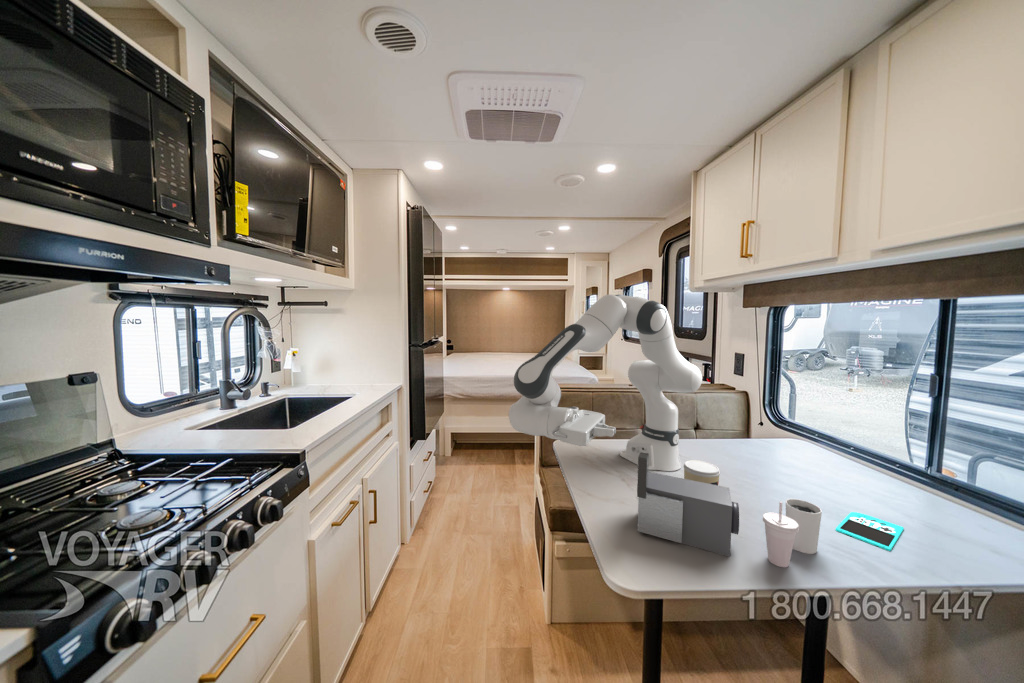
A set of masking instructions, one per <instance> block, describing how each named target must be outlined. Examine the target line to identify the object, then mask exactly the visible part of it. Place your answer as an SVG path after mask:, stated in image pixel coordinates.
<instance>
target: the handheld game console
mask: <svg viewBox="0 0 1024 683" xmlns="http://www.w3.org/2000/svg"><path fill="white" fill-rule="evenodd" d="M904 530H905V528H904V527H903V526H901V525H898V524H895V523H892V522H889V521H885V520H883V519H880V518H877V517H874V516H871V515H868V514H864V513H861V512H855V511H850V513H848V515H846V516H845V518H843V520H842V521H841V522H840V523H839V524H838V525H837V526H836V527H835V531H836V532H838V533H841V534H843V535H846V536H848V537H850V538H854V539H856V540H860V541H863V542H864V543H866V544H868V545H869V544H870V545H872V546H874V547H877V546H878V548H879V549H882V550H885V551H887V552H891V551H892V550H893V548H894V546H895V545H896V543H897V541H898V540H899V538H900V536H901V535H902V533H903V531H904Z"/></svg>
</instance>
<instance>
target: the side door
mask: <svg viewBox="0 0 1024 683" xmlns="http://www.w3.org/2000/svg"><path fill="white" fill-rule="evenodd" d="M648 468H649V454H648V453H643V452H640V454H639V456H638V465H637V488H636V491H637V494H636V497H637V498H638V500H637V503H638V504H637V505H638V506H637V507H638V508H637V532H640V533H643V534H646V535H651V536H654V537H658V538H660V539H661V538H662V539H665V540H669V541H672V542H675V543H678V544H682V519H683V501H681V500H677V499H672V498H668V497H663V496H659V495H655V494H650V493H648V472H649V470H648Z"/></svg>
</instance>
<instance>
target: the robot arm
mask: <svg viewBox="0 0 1024 683" xmlns="http://www.w3.org/2000/svg"><path fill="white" fill-rule="evenodd" d="M619 329H623V330H625V331H630V332H634V333H638V338H639V342H640V347H641V352H642V354H643V355H644V356H643V357H645V358H646V359H643V360H635V361H633V362H631V364H630V366H629V368H628V370H627V375H628V376H627V377H628V380H629V382H630V383H631V384H632V385H633V386H634V387H635V388H636V389H637V390H638V392H639V393H640V395H641V397H642V399H643V401H644V406H645V423H643V424H642V425H640V426H639V430H641V432H640V433H637V434H636V435H634V436H633V437H631V438H630V439H629V440H628V441H626V442H627V443H626V446H625V448H624V449H622V450H620V451H619V456H620V457H622V458H624V459H626V460H628V461H629V462H631V463H633V464H635V465H637V466H638V456H639V454H640V452H643V453H648V454H649V468H648V471H649V470H650V471H654V470H656V471H661V472H673V471H679V470H680V469H681V468H682V462H681V459H680V454H679V443H680V442H679V439H680V428H679V408H678V406H677V405H676V404H675V403H674V402H673V401H671V400H669V399H668V398H667V397H666V396H665V395H664V393H663V392H670V393H671V392H672V393H676V394H677V393H678V394H683V393H684V394H685V393H686V394H688V393H689V394H690V393H695V392H697V391H698V390H699V389H700V387H701V385H702V383H703V375H702V372H701V370H700V368H699V367H698V366H696V365H695V364H693V363H691V362H689V361H688V360H687V358H685V357H684V356H683V355H682V354H681V353H680V351H679V350H678V349H677V345H676V340H675V336H674V331H673V324H672V321H671V317H670V315H669V312H668V310H667V307H666V306H664V304H661V303H660V302H657V301H655V300H650V299H646V298H643V297H639V296H631V295H624V294H605V295H603V296H602V297H600V298H599V299H598V300H597V301H596V302H594V303H593V304H592V305H590V307H589V308H588V309H587V310H586V311H585V313H583V314H582V316H581V317H580V318H579V319H578V320H577V321H576V322H575V323H572V324H570V325H568V326H566V327H565V328H564V329H563V330H561V331H560V332H559V333H557V335H556V336H555V337H553V339H551V341H549V342H548V343H547V344H546V345H545V346H543V348H542V349H541V350H540V351H539V352H538V353H537V354H536V355H534V356H533V357H531V358H530V359H528V360H526V361H524V362H523V363H522V364H521V365H520V366H519V367H518V368H517V369H516V371H515V372H514V377H513V385H514V388H515V390H516V391H517V392H518V394H520V395H522V396H521V397H520V398H519V399H518V400H517V401H516V402H514V403H512V404H511V405H510V407H509V410H508V420H509V423H510V426H511V428H513V430H515V431H516V432H519V433H522V434H525V435H529V436H534V437H542V436H543V437H546V438H548V439H552V440H558V441H560V442H562V443H566V444H569V445H573V446H578V447H587V445H588V444H589V443H590V442H591V441H592V440H593V439H594V438H595V437H610V438H612V437H614V436H615V434H616V433H617V428H616V427H615V426H611V425H608V424H606V415H605V414H603V413H601V412H597V411H594V410H593V411H592V410H586V409H579V407H578V406H569V407H562V406H559V404H560V401H561V398H562V390H561V387H560V385H559V384H558V382H557V381H556V379H555V378H554V377H553V376H552V374H553V371H554V370H555V369H556V368H557V367H558V366H559V365H560V364H561V363H562V361H564V359H566V358H567V357H568V355H570V354H571V353H572V352H574V351H577V350H580V351H583V352H584V353H597V352H598V351H600V350H601V349H603V348H604V347H605V346H606V345H607V344H608V343H609V342H610V341H611V339H612V338H613V337H614V336H615V335H616V333H617V332H618V330H619Z"/></svg>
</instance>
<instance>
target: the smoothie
mask: <svg viewBox="0 0 1024 683" xmlns="http://www.w3.org/2000/svg"><path fill="white" fill-rule="evenodd" d="M778 504H779V505H778V506H779V507H778V513H777V512H766V513H763V515H762V522H763V523H764V530H765V540H766V541H765V542H766V549H767V551H766V552H767V559H768V561H769V562H770V563H772V564H773V565H775V566H777V567H780V568H788V567H789V566H790V562H791V557H792V552H793V550H794V549H793V544H794V540H795V536H796V532H798V530H799V528H798V526H799V525H798V523H797V522H796V521H794V520H793V519H791V518H789V517H787V516H786V514H783V501H779V503H778Z"/></svg>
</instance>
